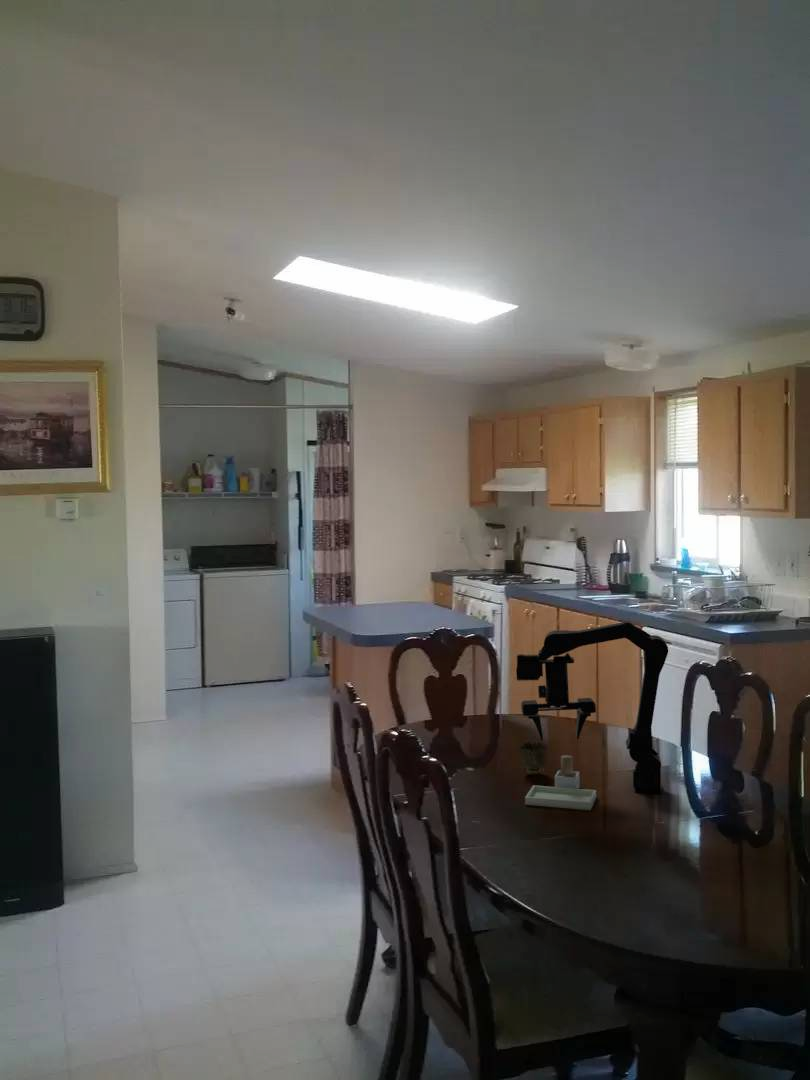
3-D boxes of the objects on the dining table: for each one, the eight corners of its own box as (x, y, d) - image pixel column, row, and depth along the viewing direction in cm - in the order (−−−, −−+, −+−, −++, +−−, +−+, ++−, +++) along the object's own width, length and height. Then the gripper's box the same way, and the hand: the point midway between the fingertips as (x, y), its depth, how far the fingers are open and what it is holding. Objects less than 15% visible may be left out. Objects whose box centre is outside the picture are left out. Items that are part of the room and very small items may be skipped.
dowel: (574, 786, 242) (573, 755, 241) (572, 789, 239) (571, 758, 239) (562, 785, 243) (562, 754, 242) (560, 788, 240) (560, 758, 240)
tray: (596, 797, 234) (596, 790, 234) (590, 810, 225) (590, 802, 224) (533, 792, 239) (533, 785, 239) (525, 804, 230) (525, 797, 230)
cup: (539, 779, 250) (538, 750, 249) (515, 775, 254) (514, 746, 254) (552, 772, 256) (551, 743, 255) (528, 768, 260) (528, 740, 260)
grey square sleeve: (579, 787, 243) (579, 771, 242) (576, 793, 237) (576, 778, 237) (558, 785, 244) (558, 770, 244) (554, 791, 239) (554, 776, 239)
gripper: (588, 672, 250) (590, 730, 250) (518, 675, 250) (521, 733, 251) (594, 680, 238) (597, 741, 239) (521, 683, 239) (524, 744, 240)
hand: (559, 739), depth 243 cm, fingers open, 9 cm apart
